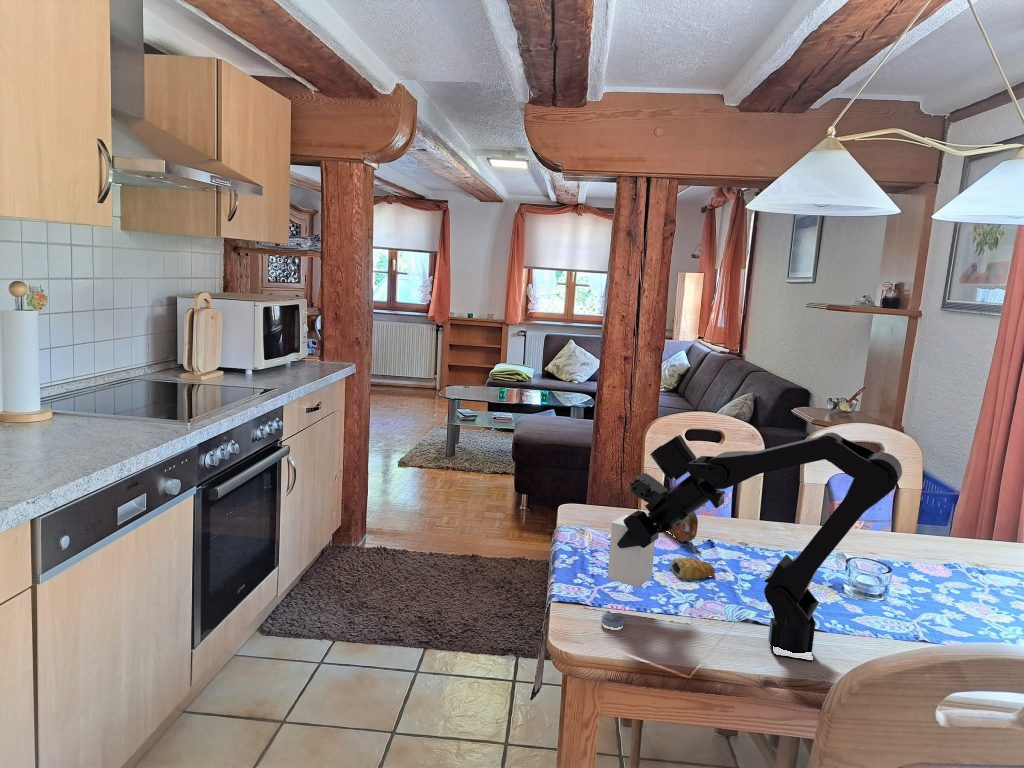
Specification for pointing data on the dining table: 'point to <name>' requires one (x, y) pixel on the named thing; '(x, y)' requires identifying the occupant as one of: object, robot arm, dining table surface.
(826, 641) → the dining table surface
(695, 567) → the pastry
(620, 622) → the dark grey round puck
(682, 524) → the tin
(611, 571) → the tall white rectangular prism
